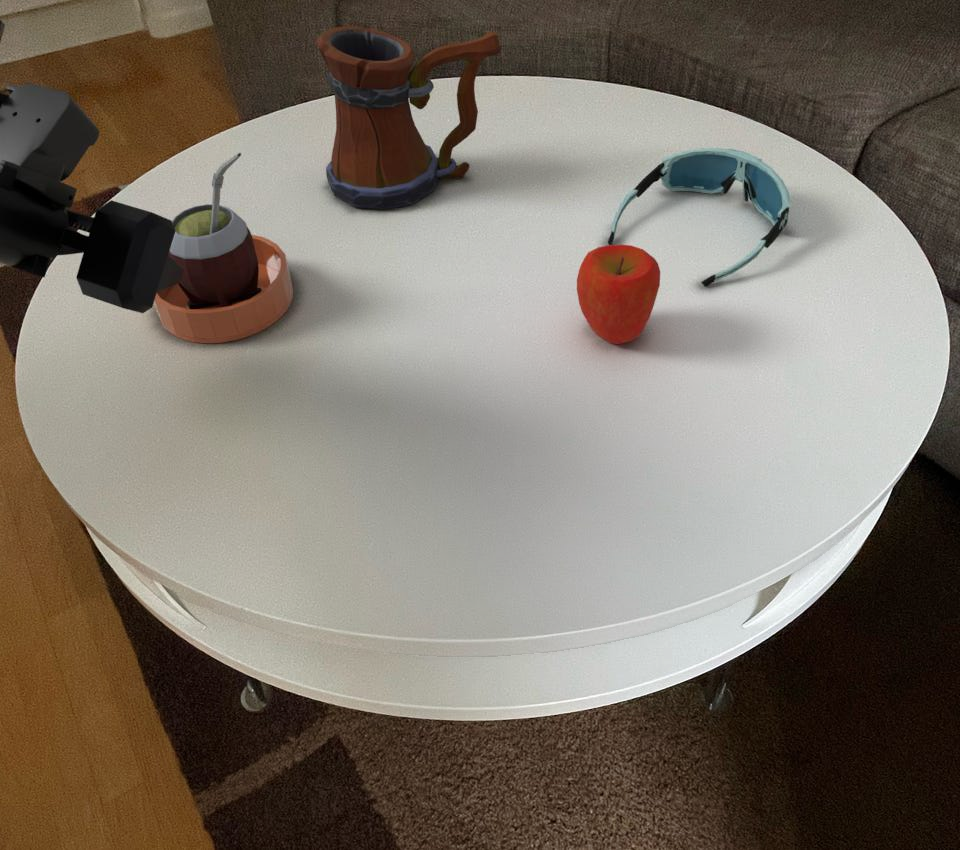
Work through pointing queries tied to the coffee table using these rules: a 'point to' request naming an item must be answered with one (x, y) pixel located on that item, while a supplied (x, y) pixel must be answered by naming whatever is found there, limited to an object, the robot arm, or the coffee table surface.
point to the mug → (392, 115)
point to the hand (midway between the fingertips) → (132, 260)
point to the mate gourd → (215, 252)
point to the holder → (239, 317)
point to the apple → (618, 291)
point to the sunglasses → (721, 188)
